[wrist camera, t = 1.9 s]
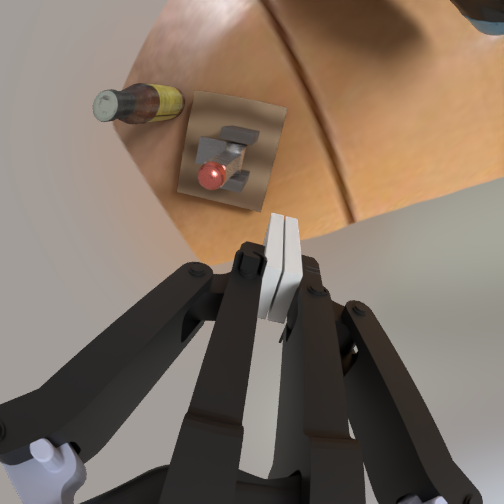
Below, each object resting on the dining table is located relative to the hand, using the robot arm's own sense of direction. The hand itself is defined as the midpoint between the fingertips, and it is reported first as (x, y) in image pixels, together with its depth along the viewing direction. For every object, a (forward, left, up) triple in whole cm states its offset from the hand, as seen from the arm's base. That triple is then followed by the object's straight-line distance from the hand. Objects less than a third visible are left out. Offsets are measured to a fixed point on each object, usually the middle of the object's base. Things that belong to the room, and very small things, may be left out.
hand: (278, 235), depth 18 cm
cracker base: (0, -9, -32) cm, 34 cm away
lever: (0, -9, -25) cm, 27 cm away
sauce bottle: (-6, -22, -33) cm, 40 cm away
